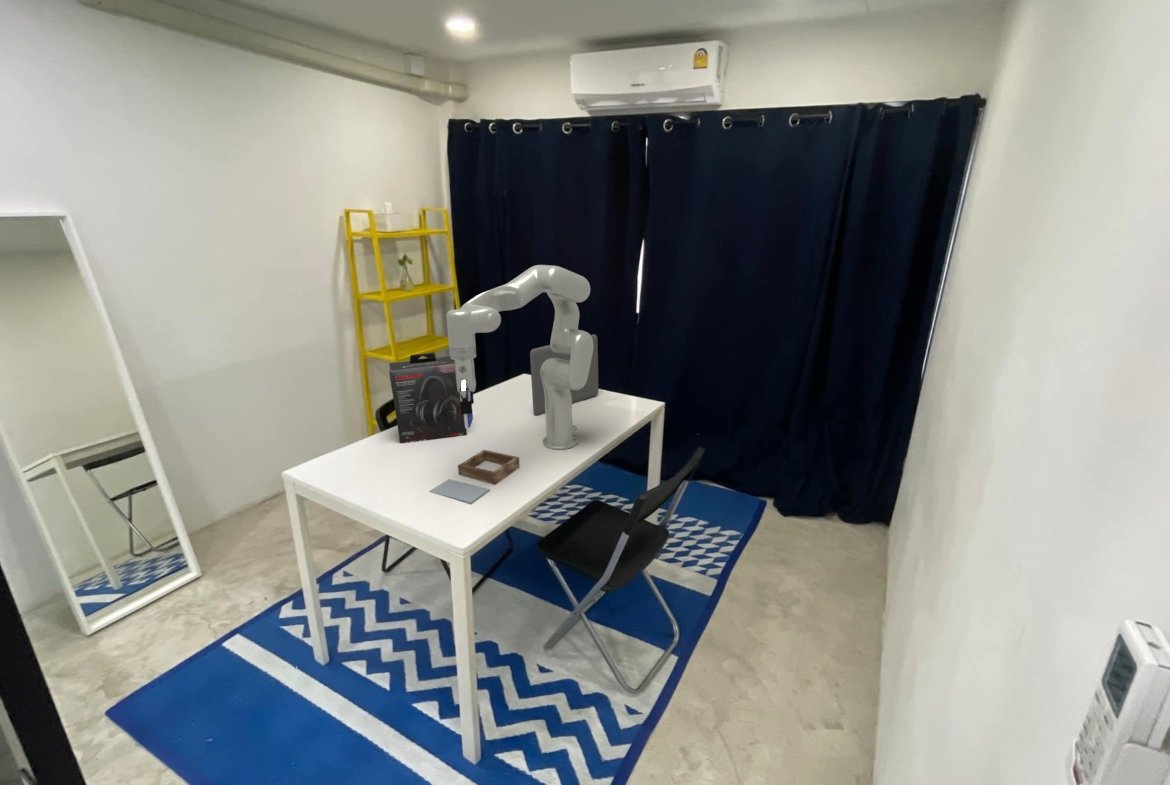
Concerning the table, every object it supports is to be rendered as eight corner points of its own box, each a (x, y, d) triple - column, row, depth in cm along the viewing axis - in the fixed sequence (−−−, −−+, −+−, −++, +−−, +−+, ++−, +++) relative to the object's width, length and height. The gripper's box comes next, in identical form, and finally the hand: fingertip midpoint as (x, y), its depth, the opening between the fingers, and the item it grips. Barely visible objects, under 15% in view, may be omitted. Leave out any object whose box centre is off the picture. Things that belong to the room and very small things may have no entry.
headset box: (399, 449, 202) (387, 361, 191) (398, 436, 213) (387, 352, 203) (467, 438, 209) (459, 353, 199) (463, 427, 220) (455, 346, 210)
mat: (449, 481, 176) (448, 478, 176) (490, 491, 169) (489, 489, 169) (429, 493, 169) (429, 491, 168) (471, 504, 161) (470, 502, 161)
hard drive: (473, 418, 173) (470, 380, 169) (470, 427, 165) (466, 387, 161) (468, 418, 173) (464, 380, 169) (464, 428, 165) (461, 388, 161)
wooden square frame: (484, 460, 190) (483, 449, 189) (519, 468, 184) (519, 457, 182) (459, 476, 179) (457, 465, 178) (495, 485, 173) (494, 473, 171)
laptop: (556, 384, 272) (554, 325, 263) (600, 397, 252) (598, 334, 243) (493, 404, 247) (487, 339, 237) (535, 420, 227) (531, 350, 217)
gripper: (474, 358, 154) (479, 417, 160) (477, 345, 171) (481, 399, 176) (446, 360, 153) (452, 419, 159) (452, 346, 170) (457, 400, 175)
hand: (467, 408), depth 167 cm, fingers closed on hard drive, 8 cm apart
